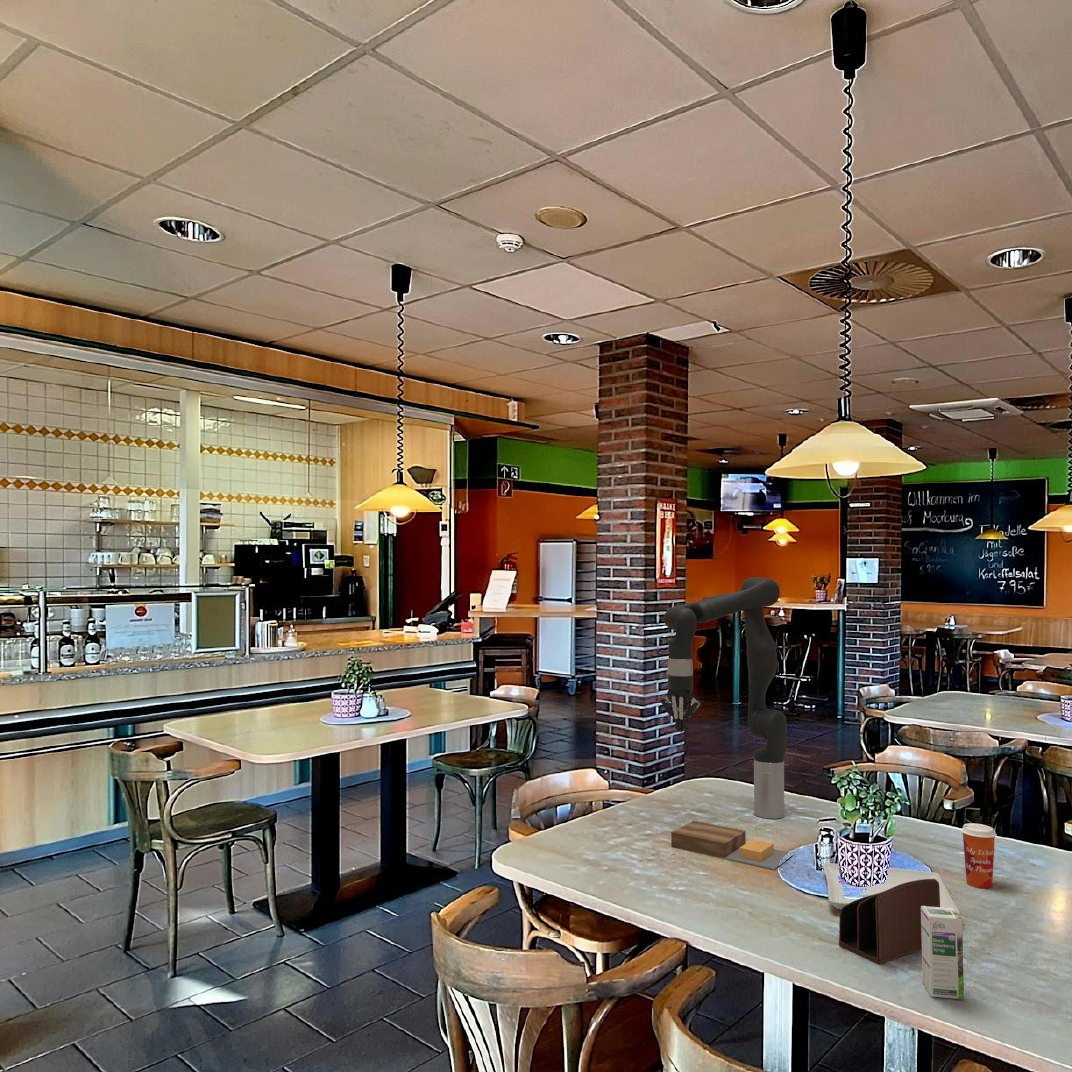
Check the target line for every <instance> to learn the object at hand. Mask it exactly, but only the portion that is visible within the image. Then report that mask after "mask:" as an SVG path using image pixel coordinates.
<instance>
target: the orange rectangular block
mask: <svg viewBox="0 0 1072 1072" xmlns="http://www.w3.org/2000/svg"><path fill="white" fill-rule="evenodd" d="M774 847H775V846H774V843H772V842H766V841H761V840H757V839H751V840H749V841H748V842H746V844H744V845H743V846H741V847H740V848H739V857H741V858H745V859H750V860H754V861H759V862H761V861H763V860H764V859H766V858H767V857H769V856H770V855H771V854H773V853H774V849H775V848H774Z"/></svg>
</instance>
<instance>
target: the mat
mask: <svg viewBox="0 0 1072 1072" xmlns="http://www.w3.org/2000/svg"><path fill="white" fill-rule="evenodd" d="M789 852H790V851H786V850H785V851H784V850H780V849H775V848H774V853H773V854H771V855H770V856H769V857H767V858H766V859H764V860H763V861H761V862H759V861H754V860H750V859H745V858H741V857H739V849H737V850H736V851H734V852H733V853H731V854H730V855H728V856H726V857H725V858H723V860H726V861H731V862H735V863H740V864H744V865H750V866H753V867H757V868H762V869H767V870H772V871H776V870H777V869H778V868H779V867H778V866H779V863H780V860H782V858H783V857H784V856H785V855H787V854H788V853H789ZM777 867H778V868H777ZM776 868H777V869H776Z"/></svg>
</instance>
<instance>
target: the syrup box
mask: <svg viewBox="0 0 1072 1072" xmlns="http://www.w3.org/2000/svg"><path fill="white" fill-rule="evenodd" d="M963 934H964V933H963V919H962V917H961V915H959V914H958V913H957V912H956V911H955V910H954V909H953V908H942V907H927V906H921V935H922V950H921V967H922V968H921V969H922V977H921V978H922V984H923V986H924V987H926V988H925V989H926V991H927V993H928V994H929V996H930V997H931V998H942V999H943V998H945V999H954V1000H955V999H956V1000H962V1001H963V1000H964V999H965V989H964V987H965V984H964V983H965V982H964V980H965V979H964V942H963V941H964V937H963Z"/></svg>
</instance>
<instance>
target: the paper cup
mask: <svg viewBox="0 0 1072 1072" xmlns="http://www.w3.org/2000/svg"><path fill="white" fill-rule="evenodd" d="M961 833H962V840H963V841H962V842H963V852H964V854H963V855H964V866H965V878H966V885H968V886H970V887H972V888H976V889H983V890H986V889H987V890H988V889H991V888H992V887H993V882H994V881H993V879H994V877H993V875H994V857H995V839H996V838H995V837H997V835H998V834H997V833H996V830H995V829H994V828H993V827H992V826H988V825H986V824H981V823H975V822H974V823H972V822H971V823H965V824H963V825H962V828H961Z"/></svg>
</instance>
